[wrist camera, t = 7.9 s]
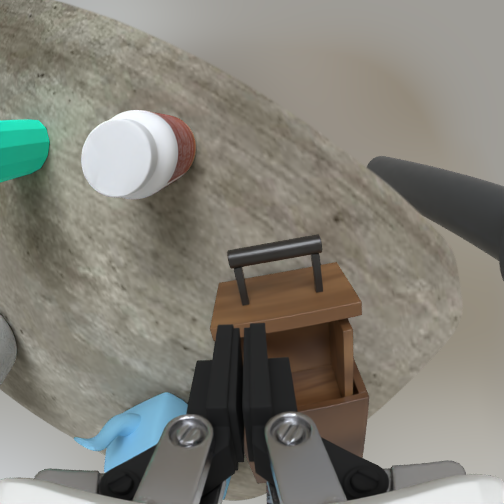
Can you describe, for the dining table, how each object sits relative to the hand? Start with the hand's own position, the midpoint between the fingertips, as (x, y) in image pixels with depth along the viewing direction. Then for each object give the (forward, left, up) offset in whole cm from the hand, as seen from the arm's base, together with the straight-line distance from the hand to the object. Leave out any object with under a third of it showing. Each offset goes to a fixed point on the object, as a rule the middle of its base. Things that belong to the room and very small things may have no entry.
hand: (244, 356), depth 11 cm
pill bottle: (+6, -8, -19) cm, 22 cm away
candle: (+21, -13, -19) cm, 31 cm away
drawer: (-2, +9, -18) cm, 21 cm away
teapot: (+16, +25, -19) cm, 36 cm away
